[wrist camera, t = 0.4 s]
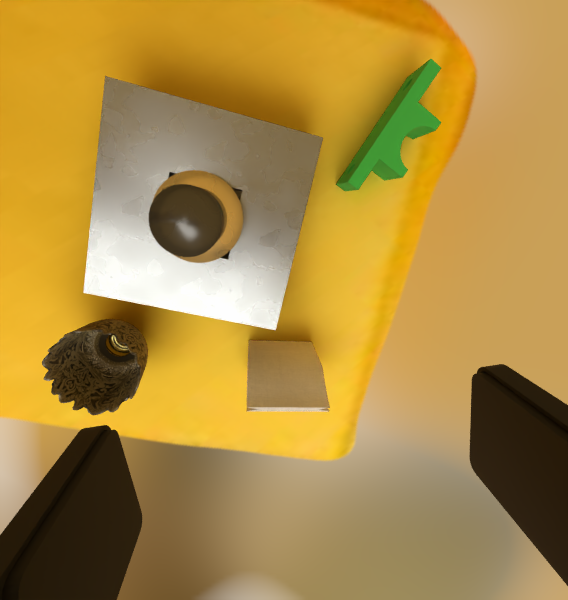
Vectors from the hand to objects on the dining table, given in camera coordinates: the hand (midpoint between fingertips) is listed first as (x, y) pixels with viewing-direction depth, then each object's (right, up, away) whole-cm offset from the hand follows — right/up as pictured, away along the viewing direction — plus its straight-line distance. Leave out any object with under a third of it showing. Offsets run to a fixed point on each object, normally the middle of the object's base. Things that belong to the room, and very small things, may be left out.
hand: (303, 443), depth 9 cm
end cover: (-8, +12, +23) cm, 27 cm away
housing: (-8, +12, +24) cm, 28 cm away
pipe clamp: (+9, +19, +24) cm, 32 cm away
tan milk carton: (-1, -2, +29) cm, 29 cm away
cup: (-17, 0, +27) cm, 32 cm away
